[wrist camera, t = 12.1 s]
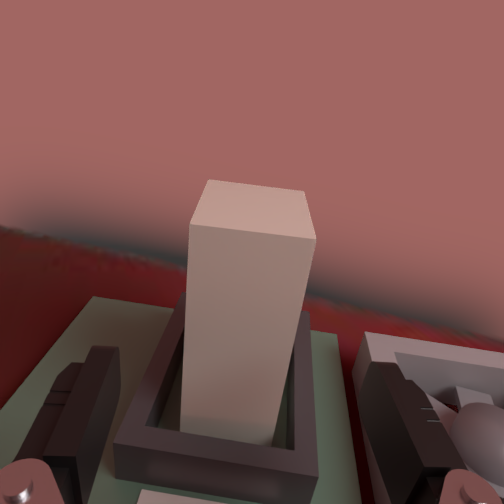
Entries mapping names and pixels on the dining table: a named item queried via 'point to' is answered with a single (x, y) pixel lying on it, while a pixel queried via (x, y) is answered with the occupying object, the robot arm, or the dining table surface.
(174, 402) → the header board
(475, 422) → the fan
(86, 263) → the dining table surface
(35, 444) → the robot arm
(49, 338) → the dining table surface
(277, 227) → the plug
